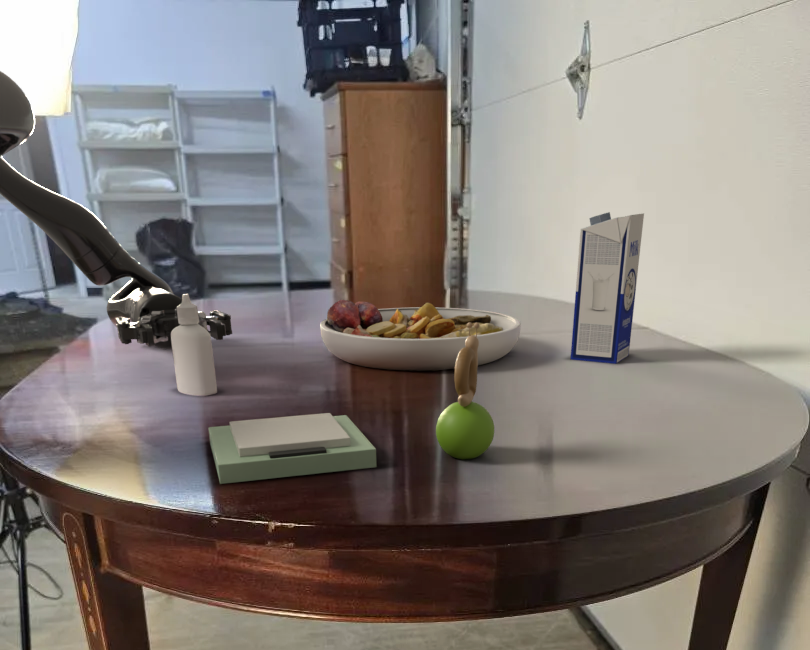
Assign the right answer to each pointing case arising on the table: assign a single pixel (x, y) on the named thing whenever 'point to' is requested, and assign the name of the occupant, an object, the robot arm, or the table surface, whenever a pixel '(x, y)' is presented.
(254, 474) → the scale
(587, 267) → the milk carton
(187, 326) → the eye dropper bottle
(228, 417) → the table surface
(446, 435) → the snail figurine
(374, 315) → the bowl
